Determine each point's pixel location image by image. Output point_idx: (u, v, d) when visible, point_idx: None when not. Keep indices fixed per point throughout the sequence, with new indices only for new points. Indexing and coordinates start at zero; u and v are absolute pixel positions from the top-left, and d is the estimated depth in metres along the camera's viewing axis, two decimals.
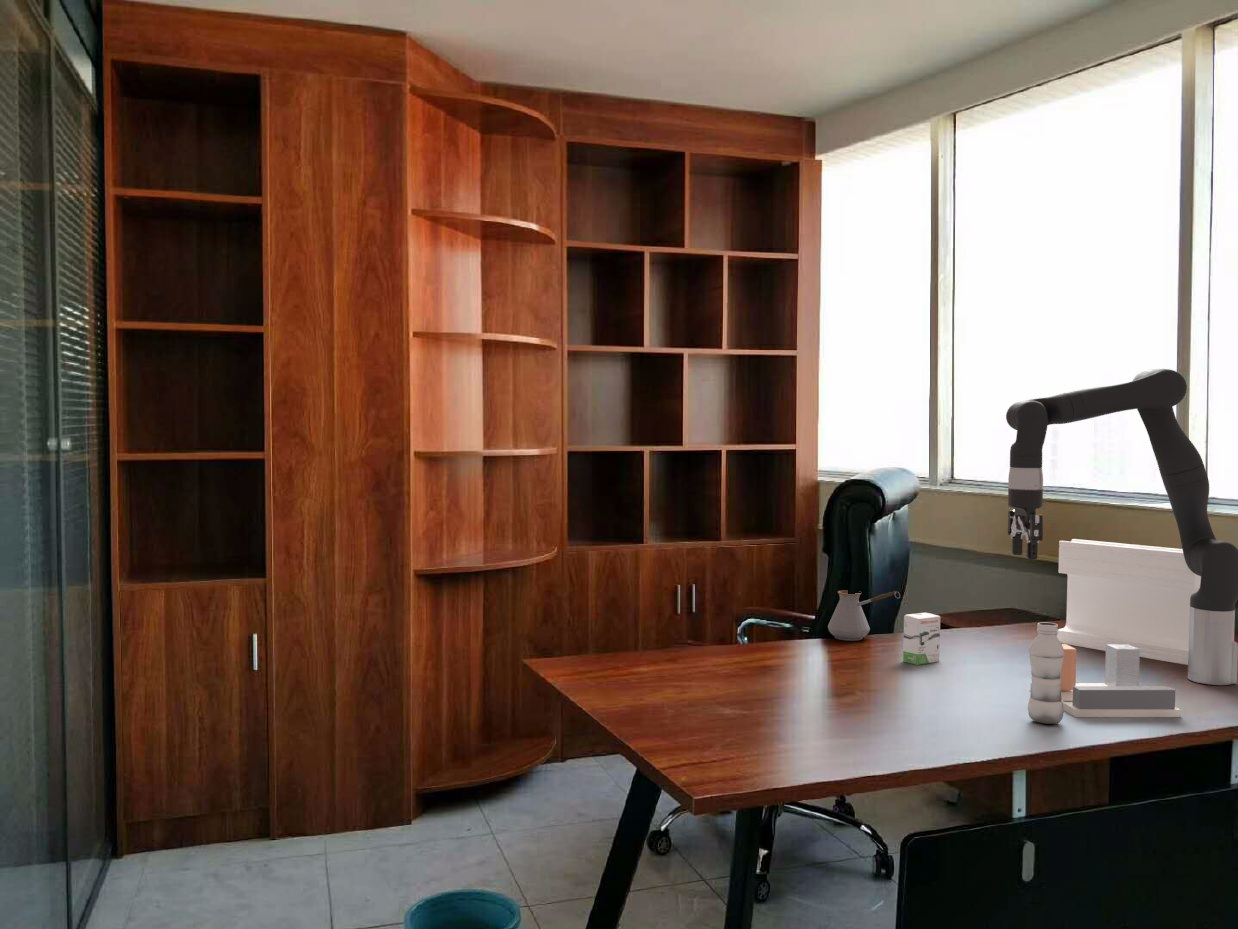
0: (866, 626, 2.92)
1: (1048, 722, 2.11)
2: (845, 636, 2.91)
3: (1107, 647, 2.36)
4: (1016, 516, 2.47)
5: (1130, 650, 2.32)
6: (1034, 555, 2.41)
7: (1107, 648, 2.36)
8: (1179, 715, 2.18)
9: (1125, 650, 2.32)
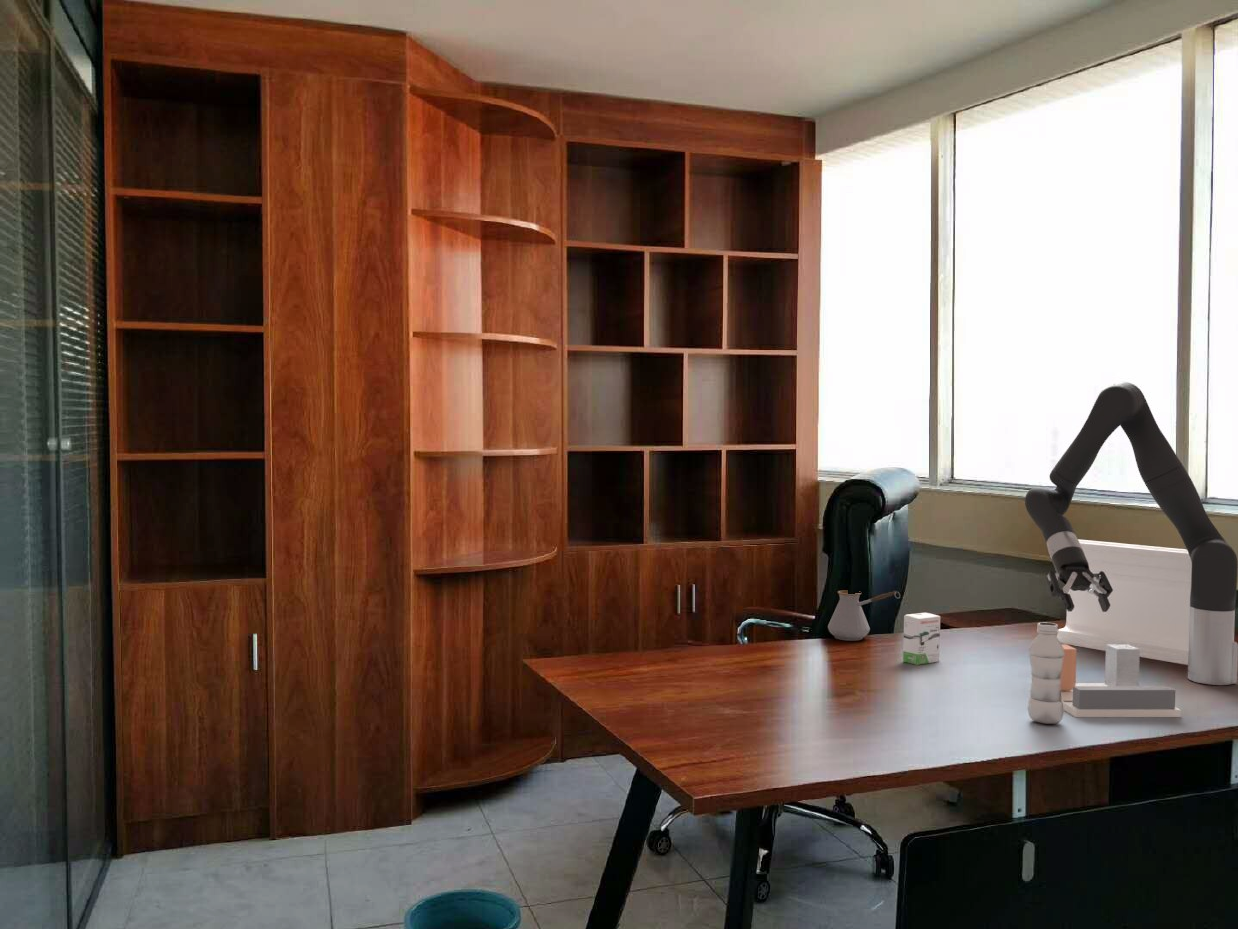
0: (866, 626, 2.92)
1: (1048, 722, 2.11)
2: (845, 636, 2.91)
3: (1107, 647, 2.36)
4: None
5: (1130, 650, 2.32)
6: (1066, 606, 2.50)
7: (1107, 648, 2.36)
8: (1179, 715, 2.18)
9: (1125, 650, 2.32)
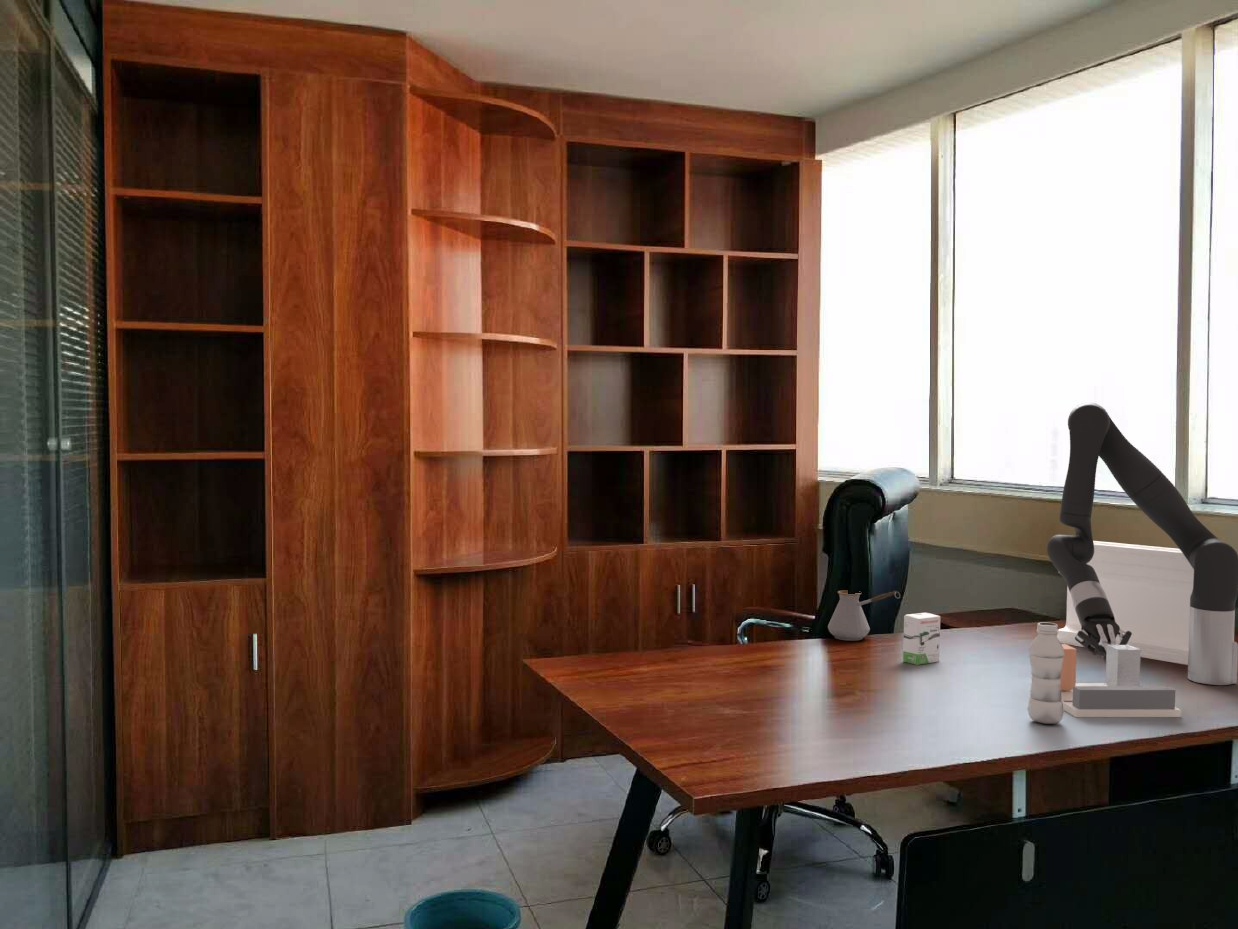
0: (866, 626, 2.92)
1: (1048, 722, 2.11)
2: (845, 636, 2.91)
3: (1108, 647, 2.36)
4: None
5: (1131, 650, 2.31)
6: None
7: (1108, 648, 2.36)
8: (1179, 715, 2.18)
9: (1126, 650, 2.31)
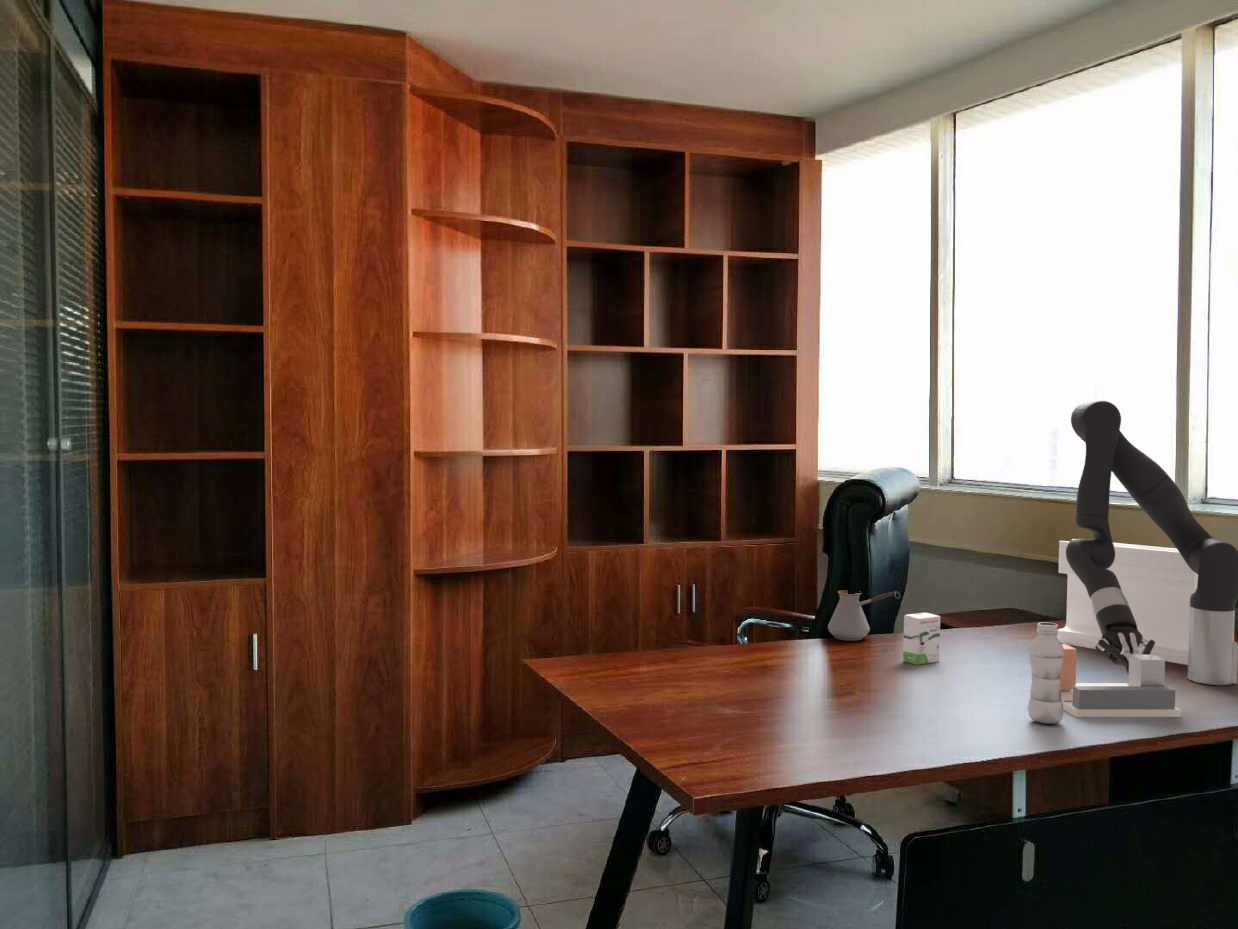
0: (866, 626, 2.92)
1: (1048, 722, 2.11)
2: (845, 636, 2.91)
3: (1130, 657, 2.26)
4: None
5: (1155, 661, 2.22)
6: None
7: (1130, 658, 2.26)
8: (1179, 715, 2.18)
9: (1149, 660, 2.22)
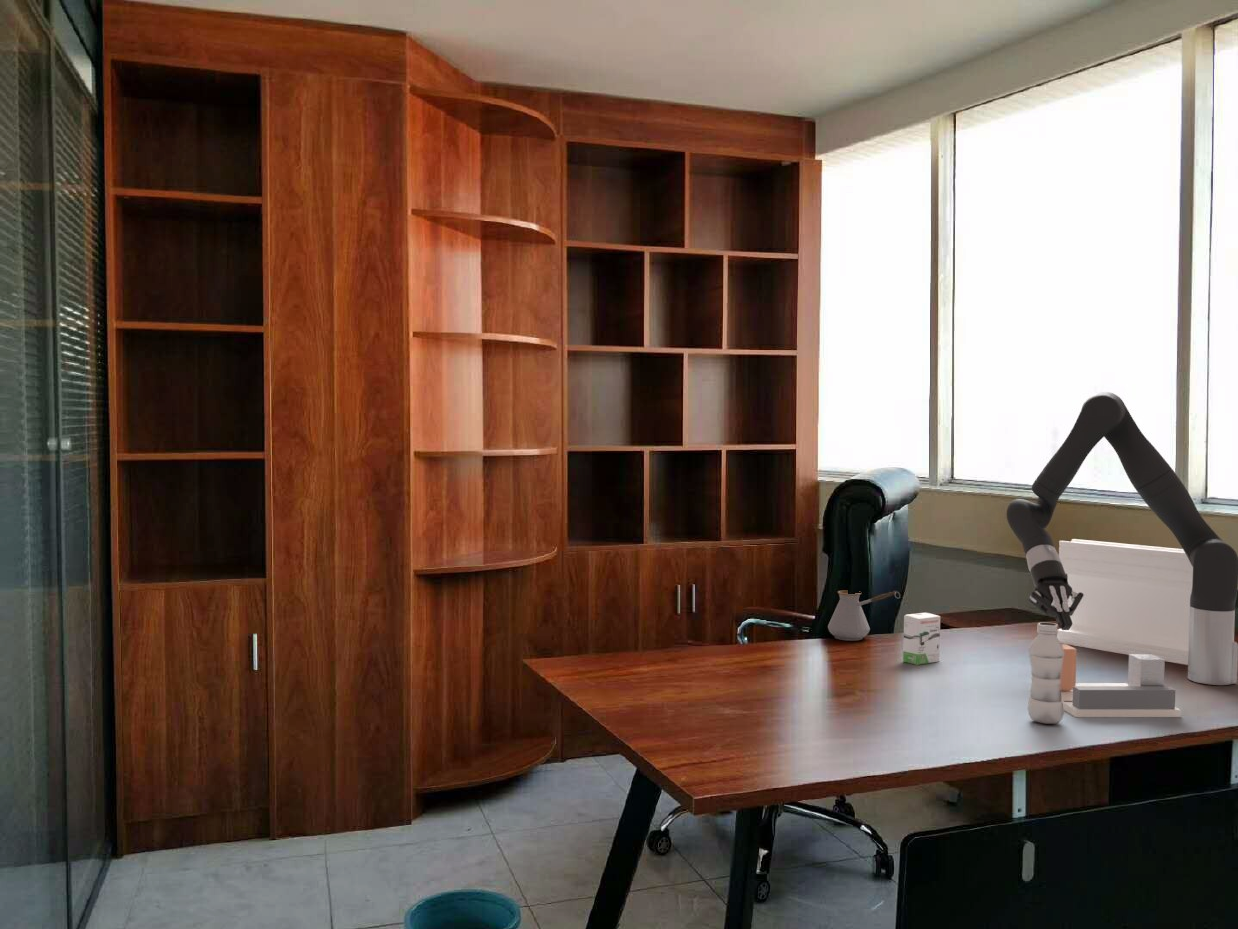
0: (866, 626, 2.92)
1: (1048, 722, 2.11)
2: (845, 636, 2.91)
3: (1130, 657, 2.26)
4: None
5: (1155, 660, 2.22)
6: (1059, 624, 2.46)
7: (1130, 658, 2.26)
8: (1179, 715, 2.18)
9: (1149, 660, 2.22)
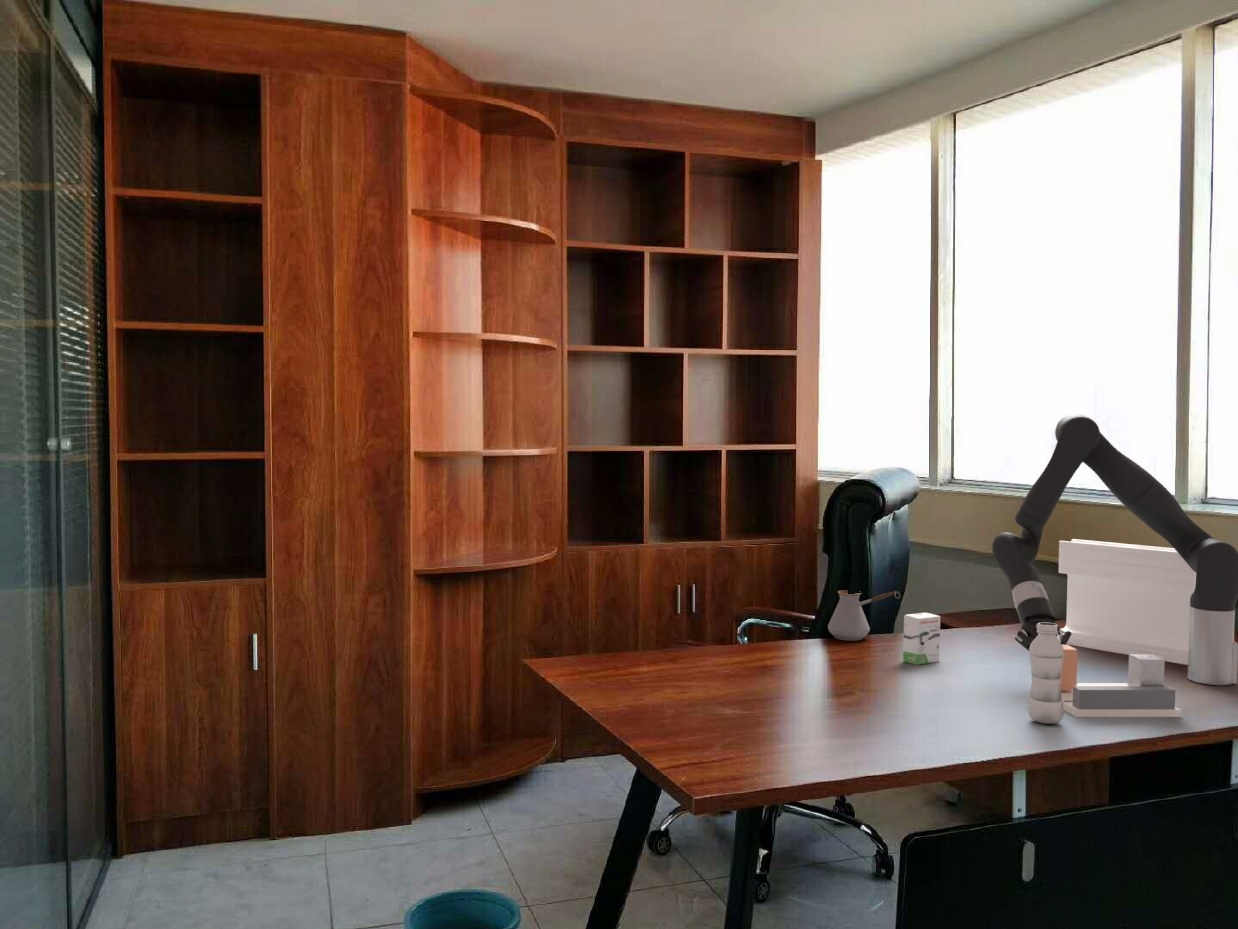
0: (866, 626, 2.92)
1: (1048, 722, 2.11)
2: (845, 636, 2.91)
3: (1130, 657, 2.26)
4: None
5: (1155, 660, 2.22)
6: None
7: (1130, 658, 2.26)
8: (1179, 715, 2.18)
9: (1149, 660, 2.22)
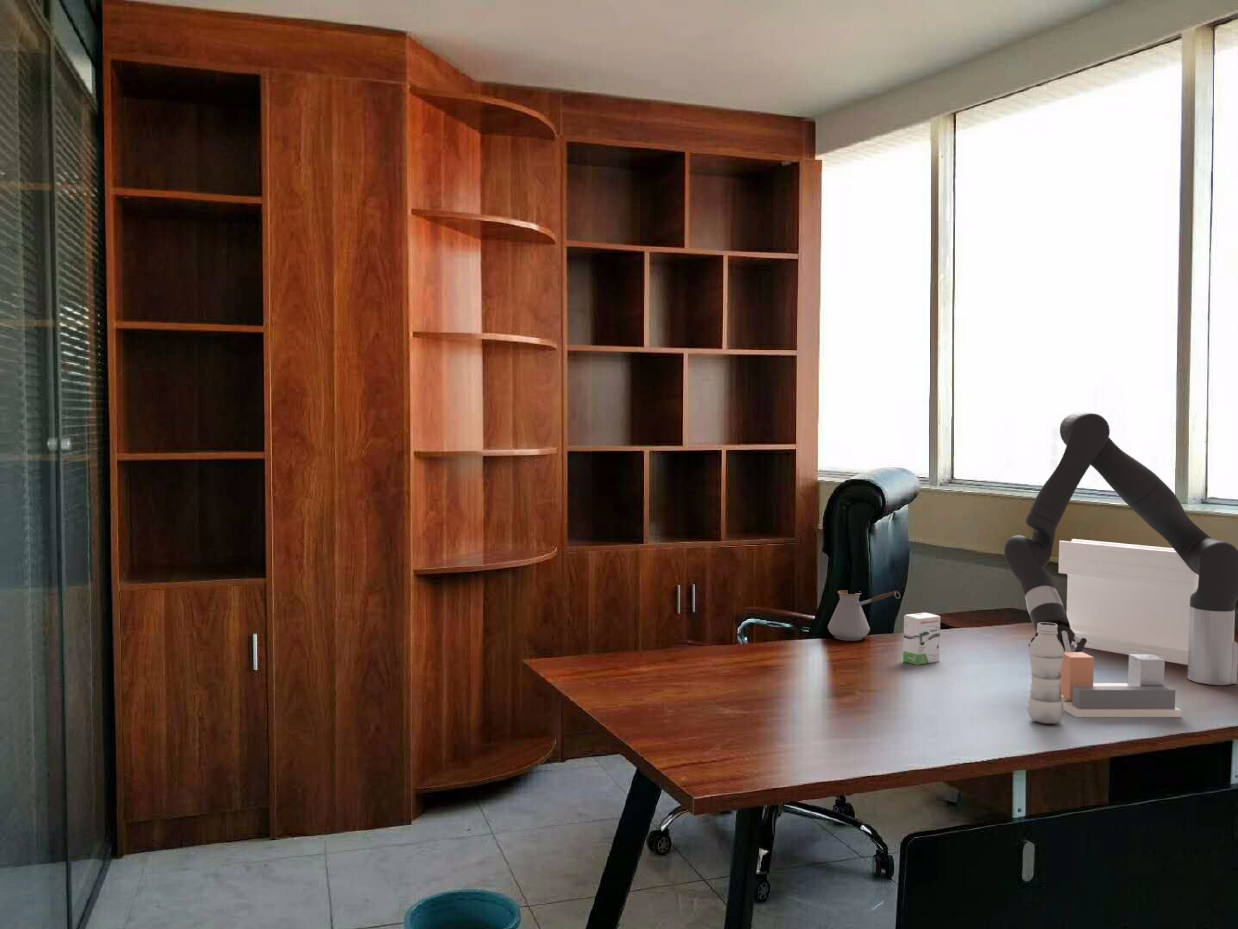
0: (866, 626, 2.92)
1: (1048, 722, 2.11)
2: (845, 636, 2.91)
3: (1130, 657, 2.26)
4: None
5: (1155, 660, 2.22)
6: None
7: (1130, 658, 2.26)
8: (1179, 715, 2.18)
9: (1149, 660, 2.22)
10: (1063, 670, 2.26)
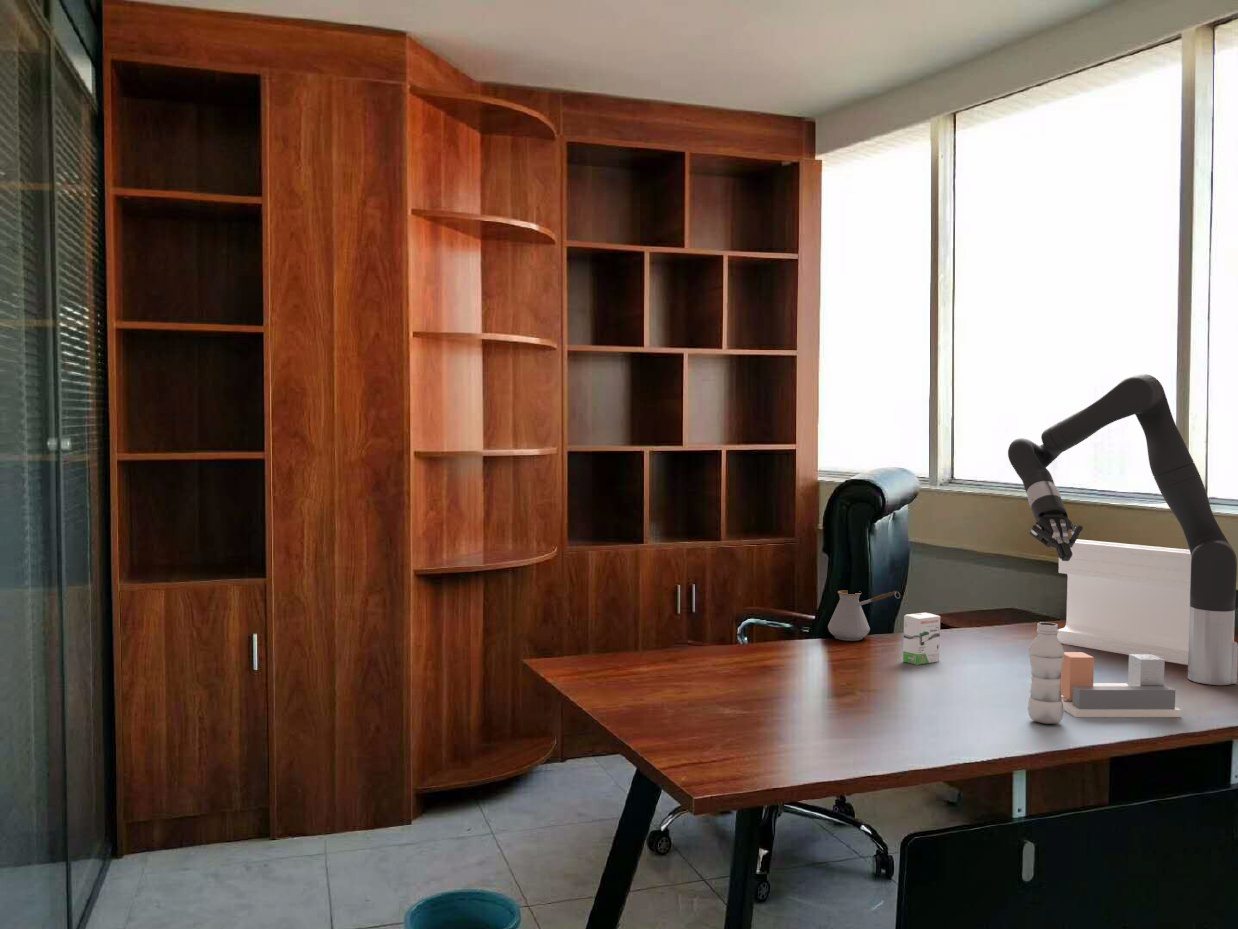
0: (866, 626, 2.92)
1: (1048, 722, 2.11)
2: (845, 636, 2.91)
3: (1130, 657, 2.26)
4: None
5: (1155, 660, 2.22)
6: (1060, 555, 2.53)
7: (1130, 658, 2.26)
8: (1179, 715, 2.18)
9: (1149, 660, 2.22)
10: (1063, 670, 2.26)
